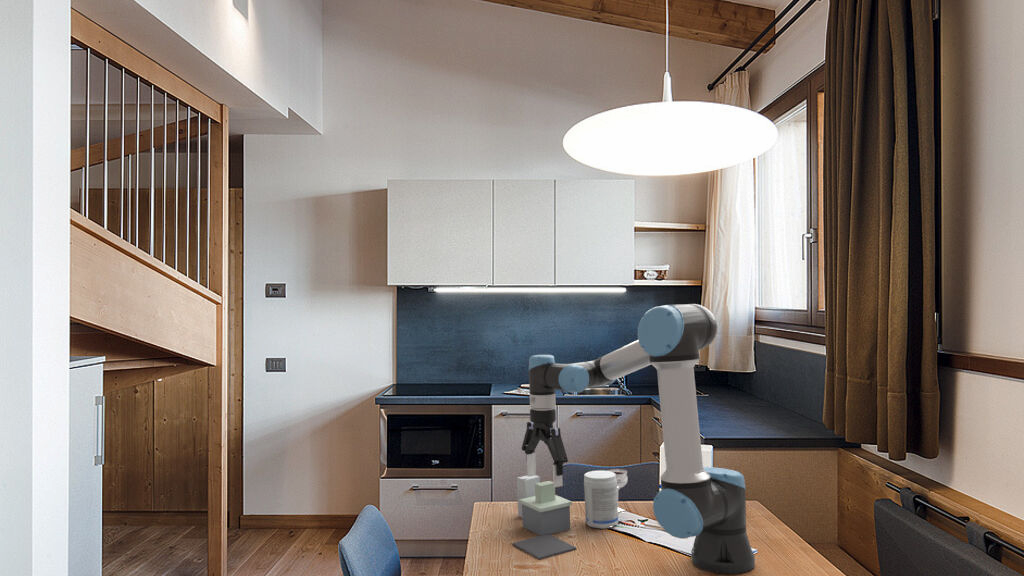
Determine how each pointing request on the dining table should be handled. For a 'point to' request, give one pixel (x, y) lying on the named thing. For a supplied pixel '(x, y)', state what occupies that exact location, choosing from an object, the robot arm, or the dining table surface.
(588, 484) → the supplement tub
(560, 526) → the storage box
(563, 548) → the mat
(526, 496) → the skincare box
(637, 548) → the dining table surface
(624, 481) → the wineglass
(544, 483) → the lid
